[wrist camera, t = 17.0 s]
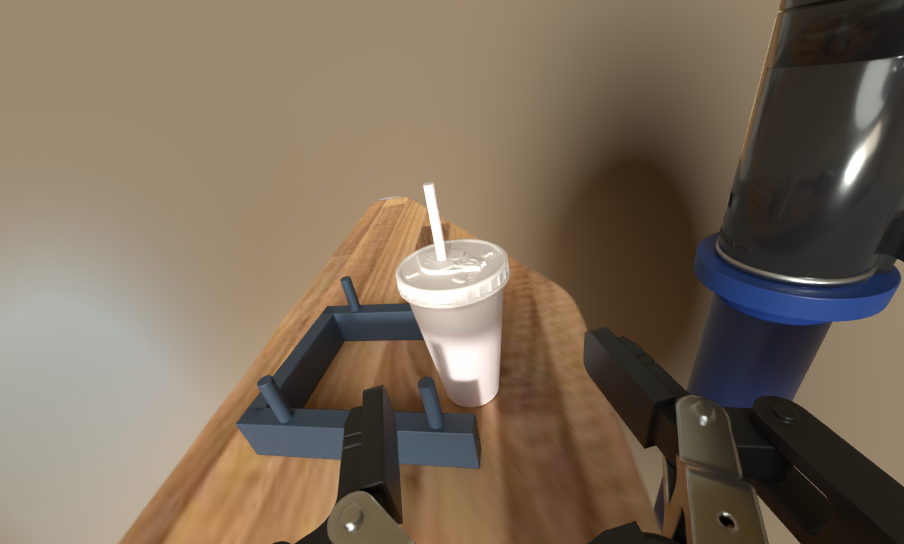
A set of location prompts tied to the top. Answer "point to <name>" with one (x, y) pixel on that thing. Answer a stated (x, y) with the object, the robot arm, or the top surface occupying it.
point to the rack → (321, 430)
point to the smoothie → (458, 308)
